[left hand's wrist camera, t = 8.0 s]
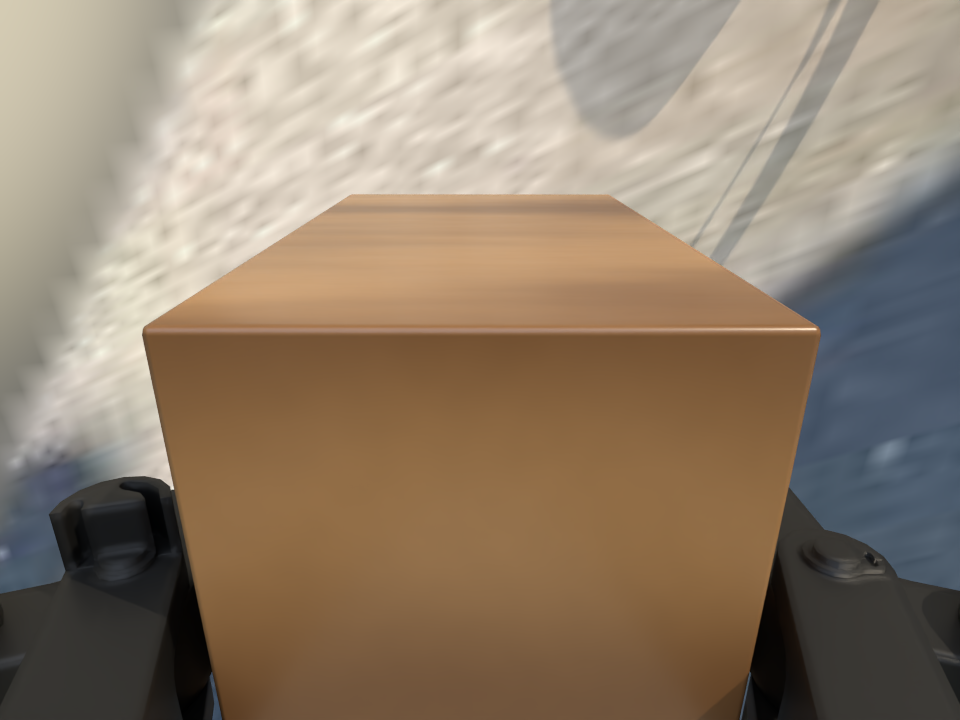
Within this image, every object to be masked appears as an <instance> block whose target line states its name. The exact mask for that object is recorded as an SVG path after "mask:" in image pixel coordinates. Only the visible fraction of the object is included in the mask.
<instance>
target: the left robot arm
mask: <svg viewBox="0 0 960 720" xmlns="http://www.w3.org/2000/svg"><path fill="white" fill-rule="evenodd" d="M49 516H50V520H51V523H52V526H53V530H54V533H55V537H56V540H57V543H58V547H59V550H60V554H61V557H62V560H63V564H64V567H65V570H66V571H65V574H64V576H63V578H62V580H61V581H58V582H55V583H51V584H46V585H41V586H36V587H32V588H27V589H22V590H17V591H12V592H7V593H2V594H0V720H212V716H213V708H214V699H213V692H212V686H211V681H210V674H211V672H212V668H211V663H210V658H209V653H208V648H207V644H206V639H205V634H204V629H203V624H202V620H201V615H200V610H199V605H198V600H197V596H196V591H195V586H194V581H193V576H192V572H191V567H190V562H189V557H188V552H187V548H186V543H185V538H184V533H183V528H182V524H181V519H180V514H179V509H178V504H177V500H176V495H175V490H171V489H170V486H168V485H167V484H166V483H165V482H163V481H162V480H161V479H156V478H151V477H146V476H139V477H122V478H118V479H113V480H109V481H104V482H100V483H98V484H95V485H92V486H90V487H87V488H85V489H82V490H79V491H78V492H76V493H74V494H73V495H71V496H69V497H68V498H66V499H65V500H63V501H61V502H60V503H59V504H58V505H57V506H56V507H55V508H54V509H53V511H52V512H51V513H50V514H49ZM750 672H751V677H750V681H749V686H748V691H747V696H746V701H745V705H744V710H743V715H742V720H960V591H957V590H952V589H948V588H943V587H938V586H933V585H928V584H923V583H918V582H913V581H909V580H905V579H901V578H898V576H897V574H896V572H895V570H894V569H893V568H892V567H891V565H890V564H889V563H888V561H887V560H886V559H885V558H884V557H883V556H882V555H881V554H879V553H878V552H876V551H875V550H874V549H872V548H871V547H869V546H868V545H867V544H865V543H862V542H860V541H858V540H856V539H853V538H851V537H849V536H847V535H844V534H840V533H836V532H832V531H828V530H824V529H823V528H822V526H821V525H820V524H819V523H818V522H817V520H816V519H815V518H814V517H813V516H812V514H811V513H810V512H809V511H808V510H807V508H806V507H805V506H804V505H803V504H802V502H801V501H800V500H799V499H798V498H797V496H796V495H795V494H794V493H793V492H792V490H791V489H790V488H788V492H787V497H786V502H785V506H784V511H783V516H782V520H781V525H780V530H779V535H778V539H777V544H776V549H775V553H774V558H773V563H772V567H771V572H770V577H769V582H768V586H767V591H766V596H765V600H764V605H763V610H762V615H761V619H760V624H759V629H758V633H757V638H756V643H755V648H754V652H753V657H752V662H751V666H750Z"/></svg>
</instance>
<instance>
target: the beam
mask: <svg viewBox="0 0 960 720" xmlns="http://www.w3.org/2000/svg"><path fill="white" fill-rule="evenodd" d="M142 336H143V341H144V346H145V351H146V356H147V360H148V365H149V370H150V375H151V380H152V384H153V389H154V394H155V399H156V404H157V408H158V413H159V418H160V423H161V428H162V432H163V437H164V442H165V447H166V452H167V456H168V461H169V466H170V471H171V476H172V480H173V485H174V490H175V495H176V500H177V504H178V509H179V514H180V519H181V524H182V528H183V533H184V538H185V543H186V548H187V552H188V557H189V562H190V567H191V572H192V576H193V581H194V586H195V591H196V596H197V600H198V605H199V610H200V615H201V620H202V624H203V629H204V634H205V639H206V644H207V648H208V653H209V658H210V663H211V668H212V672H213V677H214V682H215V687H216V692H217V696H218V701H219V706H220V711H221V716H222V720H739V718H740V714H741V709H742V704H743V699H744V695H745V690H746V685H747V681H748V676H749V671H750V666H751V662H752V657H753V652H754V648H755V643H756V638H757V633H758V629H759V624H760V619H761V615H762V610H763V605H764V600H765V596H766V591H767V586H768V582H769V577H770V572H771V567H772V563H773V558H774V553H775V549H776V544H777V539H778V535H779V530H780V525H781V520H782V516H783V511H784V506H785V502H786V497H787V492H788V487H789V483H790V478H791V473H792V469H793V464H794V459H795V454H796V450H797V445H798V440H799V436H800V431H801V426H802V421H803V417H804V412H805V407H806V403H807V398H808V393H809V388H810V384H811V379H812V374H813V370H814V365H815V360H816V355H817V351H818V346H819V341H820V337H821V333H820V329H819V327H818V326H816V325H815V324H813V323H812V322H810V321H808V320H807V319H805V318H804V317H802V316H800V315H799V314H797V313H796V312H794V311H792V310H791V309H789V308H788V307H786V306H785V305H783V304H781V303H780V302H778V301H777V300H775V299H773V298H772V297H770V296H769V295H767V294H766V293H764V292H762V291H761V290H759V289H758V288H756V287H754V286H753V285H751V284H750V283H748V282H746V281H745V280H743V279H742V278H740V277H739V276H737V275H735V274H734V273H732V272H731V271H729V270H727V269H726V268H724V267H723V266H721V265H720V264H718V263H716V262H715V261H713V260H712V259H710V258H708V257H707V256H705V255H704V254H702V253H700V252H699V251H697V250H696V249H694V248H693V247H691V246H689V245H688V244H686V243H685V242H683V241H681V240H680V239H678V238H677V237H675V236H674V235H672V234H670V233H669V232H667V231H666V230H664V229H662V228H661V227H659V226H658V225H656V224H654V223H653V222H651V221H650V220H648V219H647V218H645V217H643V216H642V215H640V214H639V213H637V212H635V211H634V210H632V209H631V208H629V207H627V206H626V205H624V204H623V203H621V202H620V201H618V200H616V199H615V198H613V197H612V196H610V195H368V194H352V195H350V196H348V197H347V198H345V199H344V200H342V201H340V202H339V203H337V204H336V205H334V206H333V207H331V208H329V209H328V210H326V211H325V212H323V213H322V214H320V215H318V216H317V217H315V218H314V219H312V220H311V221H309V222H308V223H306V224H304V225H303V226H301V227H300V228H298V229H297V230H295V231H293V232H292V233H290V234H289V235H287V236H286V237H284V238H282V239H281V240H279V241H278V242H276V243H275V244H273V245H271V246H270V247H268V248H267V249H265V250H264V251H262V252H261V253H259V254H257V255H256V256H254V257H253V258H251V259H250V260H248V261H246V262H245V263H243V264H242V265H240V266H239V267H237V268H235V269H234V270H232V271H231V272H229V273H228V274H226V275H224V276H223V277H221V278H220V279H218V280H217V281H215V282H214V283H212V284H210V285H209V286H207V287H206V288H204V289H203V290H201V291H199V292H198V293H196V294H195V295H193V296H192V297H190V298H188V299H187V300H185V301H184V302H182V303H181V304H179V305H177V306H176V307H174V308H173V309H171V310H170V311H168V312H167V313H165V314H163V315H162V316H160V317H159V318H157V319H156V320H154V321H152V322H151V323H149V324H148V325H146V326H145V327H144V328H143V333H142Z"/></svg>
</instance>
